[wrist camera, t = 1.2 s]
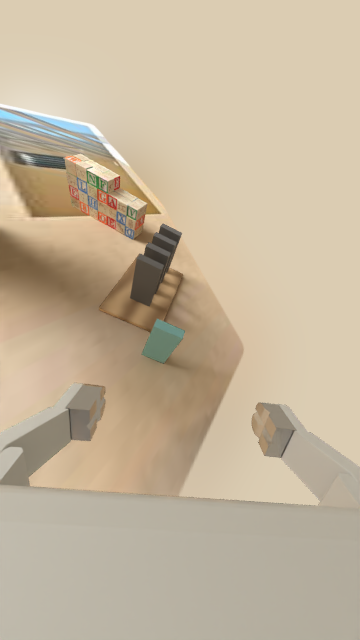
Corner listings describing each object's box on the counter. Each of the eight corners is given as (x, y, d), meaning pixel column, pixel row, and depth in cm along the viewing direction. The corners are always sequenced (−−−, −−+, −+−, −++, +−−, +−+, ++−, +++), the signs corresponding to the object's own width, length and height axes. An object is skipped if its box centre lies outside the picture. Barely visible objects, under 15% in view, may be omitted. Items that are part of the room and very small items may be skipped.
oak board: (99, 309, 40) (99, 307, 39) (139, 256, 53) (139, 253, 52) (157, 335, 41) (158, 332, 40) (182, 276, 55) (183, 274, 54)
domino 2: (144, 275, 48) (153, 235, 39) (146, 271, 49) (156, 232, 40) (161, 283, 49) (174, 245, 39) (163, 279, 50) (176, 242, 40)
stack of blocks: (142, 232, 60) (149, 192, 50) (133, 240, 56) (138, 199, 46) (84, 199, 59) (80, 152, 49) (71, 205, 55) (63, 156, 45)
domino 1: (150, 265, 51) (160, 226, 42) (152, 262, 52) (162, 223, 42) (166, 273, 52) (180, 236, 42) (168, 270, 52) (182, 233, 43)
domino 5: (141, 354, 38) (153, 326, 28) (144, 348, 39) (157, 318, 29) (163, 363, 38) (182, 338, 29) (165, 356, 39) (185, 330, 30)
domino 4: (129, 298, 43) (136, 258, 33) (132, 293, 44) (140, 253, 34) (149, 306, 43) (161, 269, 34) (151, 302, 44) (164, 265, 35)
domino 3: (137, 286, 46) (145, 246, 36) (140, 282, 47) (148, 242, 37) (155, 294, 46) (168, 257, 37) (157, 290, 47) (171, 252, 38)
